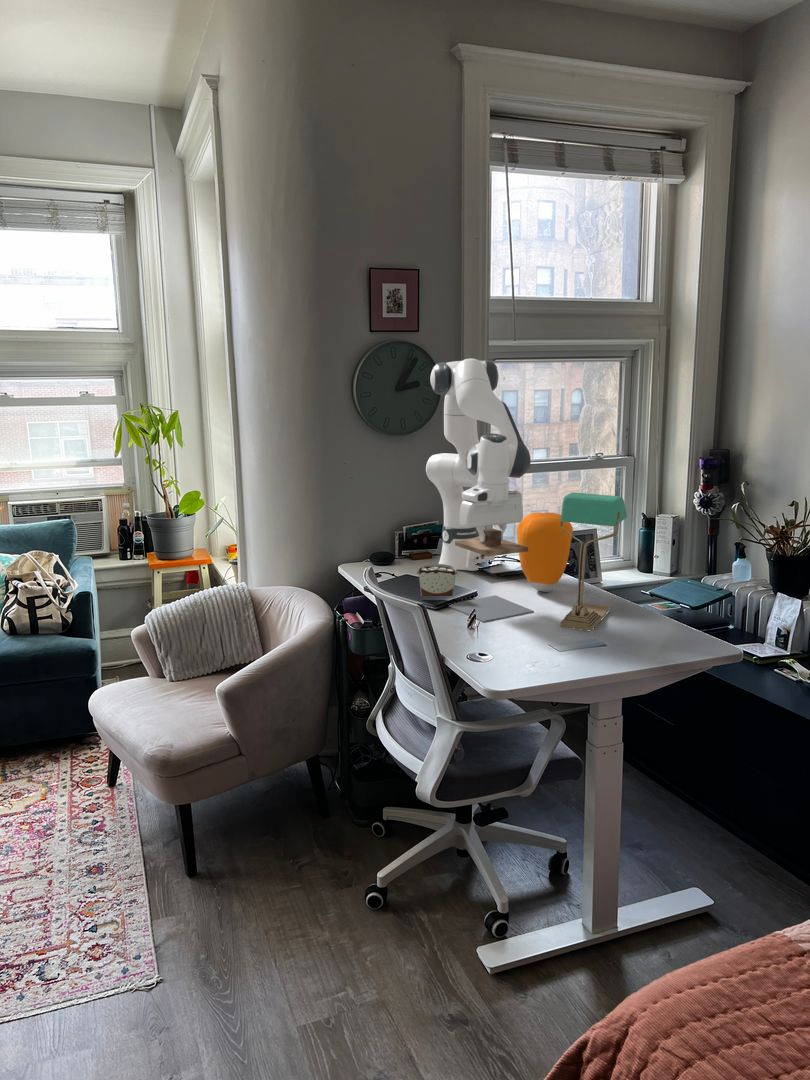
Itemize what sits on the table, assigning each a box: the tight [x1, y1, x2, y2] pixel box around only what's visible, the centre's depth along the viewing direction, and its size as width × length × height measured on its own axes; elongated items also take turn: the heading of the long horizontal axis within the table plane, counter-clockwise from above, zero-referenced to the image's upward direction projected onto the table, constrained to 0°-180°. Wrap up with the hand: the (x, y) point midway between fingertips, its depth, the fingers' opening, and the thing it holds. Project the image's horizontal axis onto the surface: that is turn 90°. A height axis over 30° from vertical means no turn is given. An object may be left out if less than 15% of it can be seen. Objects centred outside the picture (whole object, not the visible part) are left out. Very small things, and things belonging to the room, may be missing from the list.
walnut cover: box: [455, 528, 528, 557], centre depth 232 cm, size 14×16×5 cm
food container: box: [416, 563, 459, 597], centre depth 247 cm, size 12×6×10 cm, turn 84°
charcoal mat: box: [448, 595, 535, 623], centre depth 237 cm, size 18×18×1 cm
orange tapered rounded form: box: [516, 512, 574, 593], centre depth 252 cm, size 17×17×25 cm
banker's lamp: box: [560, 492, 628, 632], centre depth 225 cm, size 16×21×35 cm
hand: (491, 540), depth 232 cm, fingers closed on walnut cover, 4 cm apart
